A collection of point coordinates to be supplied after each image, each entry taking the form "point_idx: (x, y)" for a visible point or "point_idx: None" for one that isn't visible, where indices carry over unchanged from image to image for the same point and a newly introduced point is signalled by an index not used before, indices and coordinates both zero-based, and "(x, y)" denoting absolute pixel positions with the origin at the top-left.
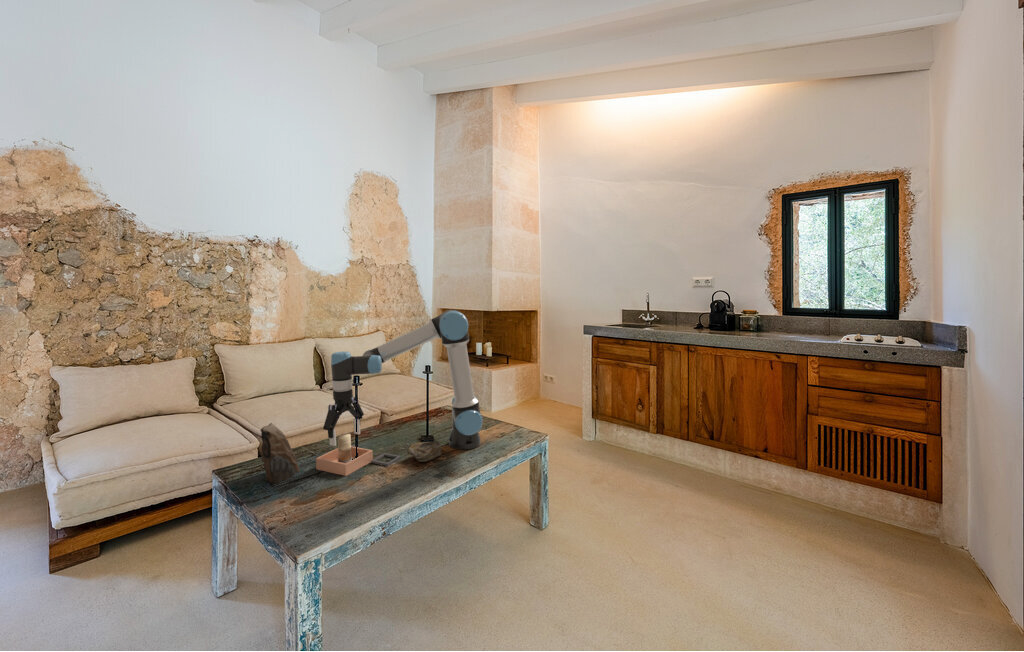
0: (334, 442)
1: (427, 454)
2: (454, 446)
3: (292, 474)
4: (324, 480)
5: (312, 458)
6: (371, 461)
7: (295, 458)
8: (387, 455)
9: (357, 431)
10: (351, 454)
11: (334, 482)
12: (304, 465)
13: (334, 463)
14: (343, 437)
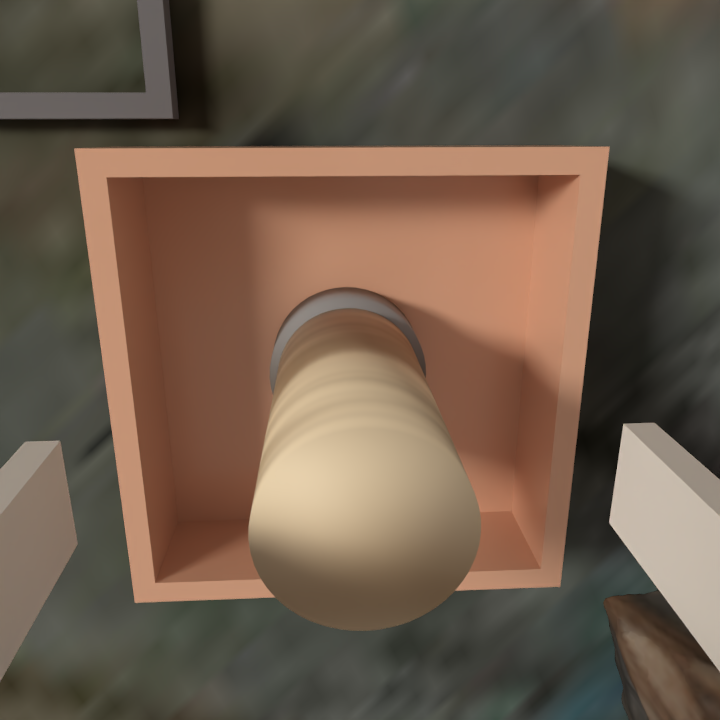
0: (683, 456)
1: None
2: None
3: None
4: (699, 275)
5: (355, 706)
6: (175, 114)
7: (712, 707)
8: None
9: (44, 500)
10: (165, 444)
11: (714, 147)
12: (493, 656)
13: (583, 328)
14: (446, 482)
